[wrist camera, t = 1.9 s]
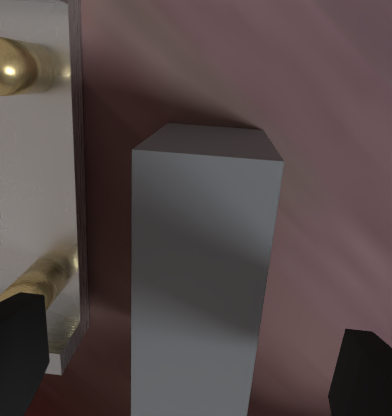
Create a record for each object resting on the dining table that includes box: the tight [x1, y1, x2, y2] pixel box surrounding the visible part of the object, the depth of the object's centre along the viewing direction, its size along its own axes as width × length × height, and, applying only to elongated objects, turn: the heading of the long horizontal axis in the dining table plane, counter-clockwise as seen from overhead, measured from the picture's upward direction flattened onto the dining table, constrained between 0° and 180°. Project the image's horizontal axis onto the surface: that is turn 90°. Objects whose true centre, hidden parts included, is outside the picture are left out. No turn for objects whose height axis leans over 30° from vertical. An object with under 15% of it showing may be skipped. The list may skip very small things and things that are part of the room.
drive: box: [131, 123, 284, 416], centre depth 12 cm, size 4×9×6 cm, turn 176°
